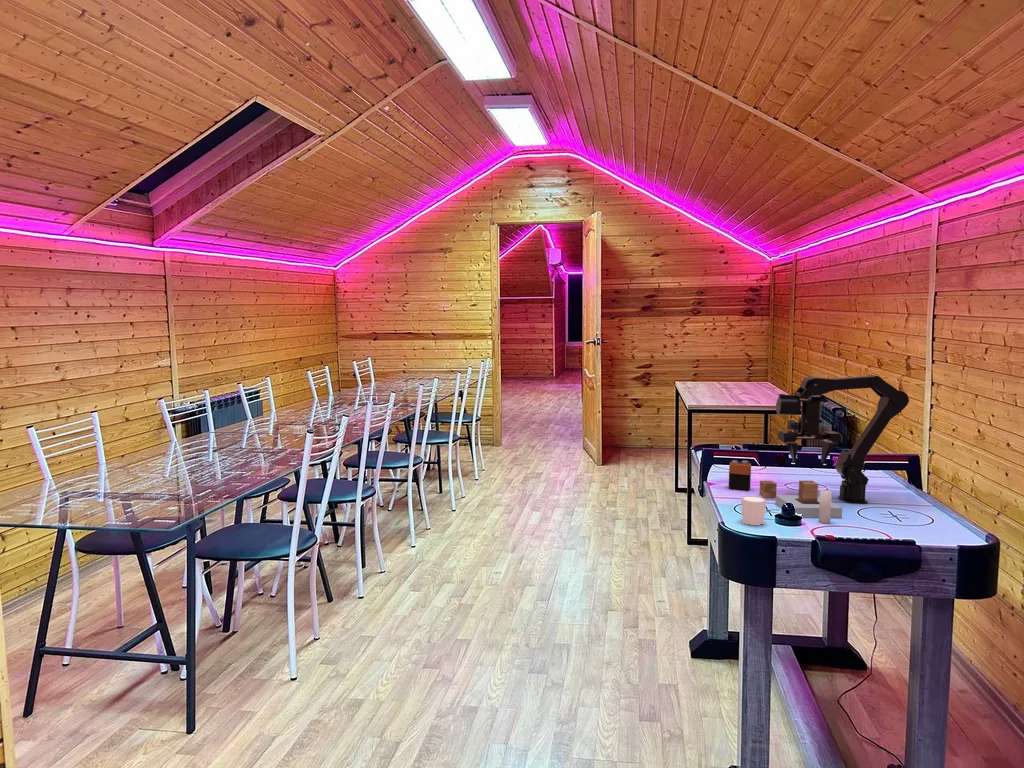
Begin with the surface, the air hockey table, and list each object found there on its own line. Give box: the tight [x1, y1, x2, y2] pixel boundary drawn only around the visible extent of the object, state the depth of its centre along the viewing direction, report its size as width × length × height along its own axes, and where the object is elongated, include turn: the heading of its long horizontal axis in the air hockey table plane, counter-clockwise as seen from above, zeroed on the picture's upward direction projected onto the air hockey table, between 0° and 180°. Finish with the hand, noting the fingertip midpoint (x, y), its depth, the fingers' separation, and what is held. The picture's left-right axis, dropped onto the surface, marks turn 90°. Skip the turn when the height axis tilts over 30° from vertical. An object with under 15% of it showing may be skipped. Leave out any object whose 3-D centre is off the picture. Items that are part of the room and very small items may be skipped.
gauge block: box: [775, 489, 843, 525], centre depth 193 cm, size 14×20×9 cm
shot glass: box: [740, 495, 767, 526], centre depth 184 cm, size 7×7×7 cm
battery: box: [728, 459, 752, 492], centre depth 221 cm, size 4×7×10 cm, turn 64°
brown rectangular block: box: [798, 480, 819, 504], centre depth 195 cm, size 4×4×9 cm
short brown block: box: [759, 480, 778, 500], centre depth 212 cm, size 4×4×5 cm
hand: (808, 462), depth 208 cm, fingers open, 9 cm apart
